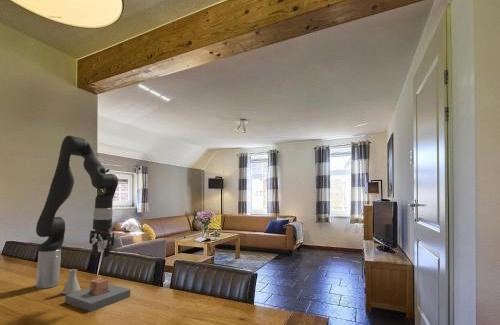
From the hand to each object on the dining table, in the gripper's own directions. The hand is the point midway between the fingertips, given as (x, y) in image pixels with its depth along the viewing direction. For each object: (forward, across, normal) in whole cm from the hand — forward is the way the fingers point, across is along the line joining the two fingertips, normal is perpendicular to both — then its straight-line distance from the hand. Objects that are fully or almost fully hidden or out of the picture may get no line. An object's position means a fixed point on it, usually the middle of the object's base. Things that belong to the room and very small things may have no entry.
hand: (100, 255), depth 124 cm
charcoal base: (+18, +1, 0) cm, 19 cm away
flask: (+19, -18, -1) cm, 26 cm away
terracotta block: (+18, +1, 0) cm, 19 cm away
